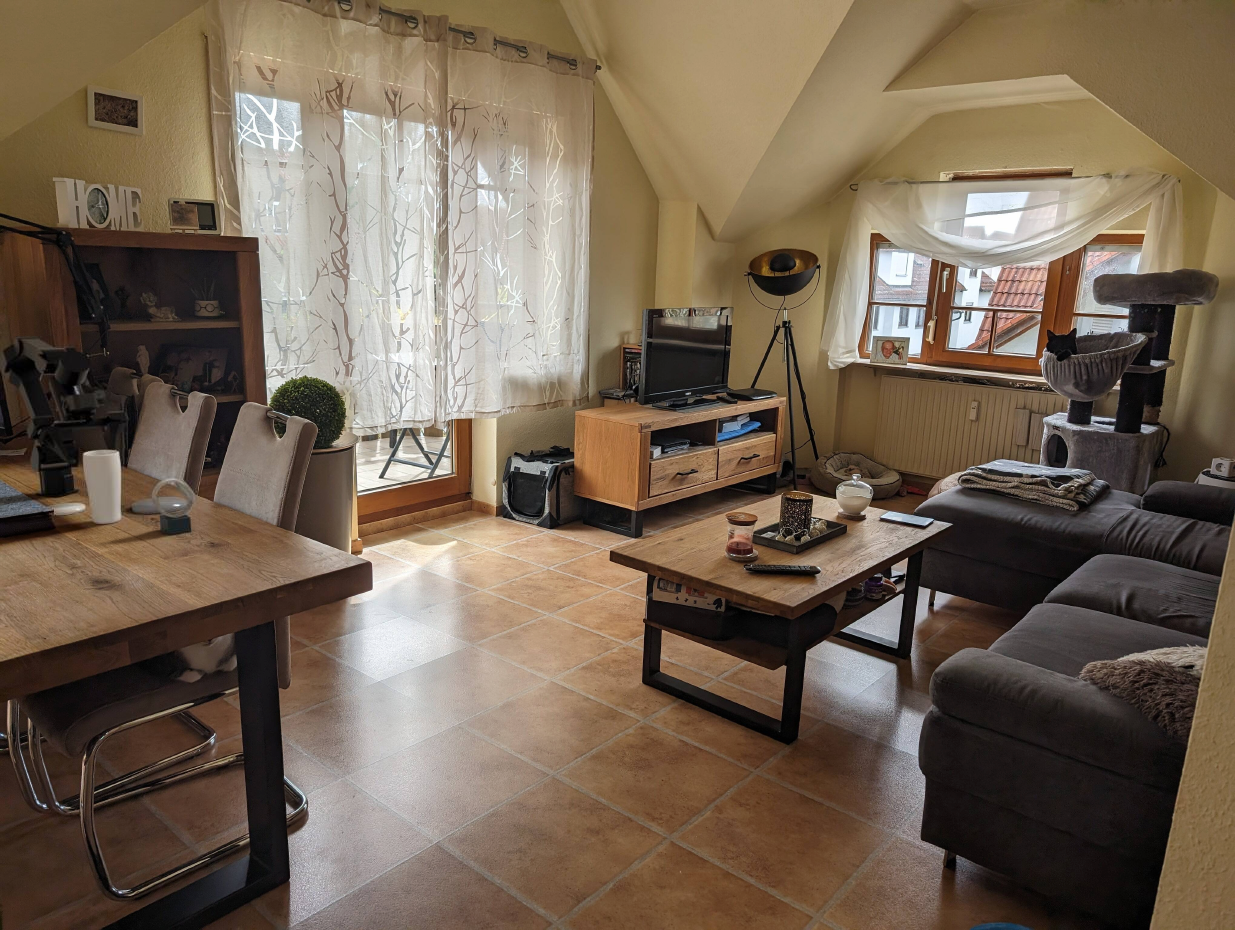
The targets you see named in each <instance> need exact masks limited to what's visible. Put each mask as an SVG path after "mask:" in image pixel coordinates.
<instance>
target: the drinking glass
mask: <svg viewBox="0 0 1235 930" xmlns="http://www.w3.org/2000/svg"><path fill="white" fill-rule="evenodd" d="M121 465H122V464H121V458H120V451H118V450H117V449H115V450H108V449H98V450H91V451H86V452H83V453H82V467H83V476H84V480H85V486H86V490H87V494H88V500H89V504H90V511H91V518H92V522H93V523H95V524H97V525H98V524H99V525H106V524H107V525H109V524H116V523H117V522H119V521H121V519H122V510H121V509H122V507H121V506H122V504H121V503H122V501H121V500H122V498H121V497H122V468H121V467H122V466H121Z"/></svg>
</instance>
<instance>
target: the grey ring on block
mask: <svg viewBox="0 0 1235 930" xmlns="http://www.w3.org/2000/svg"><path fill="white" fill-rule="evenodd" d="M169 483H174V485H175V486H176V487H175V488H176V489H177V490H178V491H179V492H180V494H182V495H183V496H184V498H185V499H186V501H188V503H187V506H186V508H184V509H182V510H180V511H179V512H178V511H176V512H169V513H167V512H166V510H164V509H163V508H162V506H161V505H160V503H159V501H158V498H157V497H158V496H157V494H158V492H159V490H160V489H161V487H163V486H165V485H166V484H169ZM151 498H152V502H153V504H154V505H155V507H156V508H157V509H158V511H159V512H160V513H161V514H159V524H160V525H159V526H160V527H159V528H160V530H161V531H162V532H163V533H164V534H166V535H167V536H174V535H179V534H187V533H192V520H191V516H189V515H187V514H188V513H190V512H191V510H192V509H193V508H194V505H195V503H196V500H195V499H196V494H195V493H194V491H193V489H192V488H191V486H189V485H188V484H187V483H186V481H185V480H183V479H182V478H179V479H177V478H175V477H171V478H170V477H168V478H164V479H162V480H161V481H159V482H158V483H156V485H155V486H154V488H153V489H152V492H151Z"/></svg>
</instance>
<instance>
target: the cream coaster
mask: <svg viewBox="0 0 1235 930" xmlns="http://www.w3.org/2000/svg"><path fill="white" fill-rule="evenodd" d="M46 507H50V508H52V509H54V515H53V516H55V515H56V516H67V515H75V514H78V513H82V512H84V511H86V508H87V507H86V504H84V503H80V502H63V503H56V504H50V505H47V506H46Z"/></svg>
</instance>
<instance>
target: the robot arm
mask: <svg viewBox="0 0 1235 930" xmlns="http://www.w3.org/2000/svg"><path fill="white" fill-rule="evenodd" d="M91 365H92V362H91V359H90V358H89V357H88V355H86V354H84V353H82V352H80V351H78V350H77V349H76V347H75V346H73V347H72V346H71V347H68V346H67V347H54V346H52V345H50V344H49V343H47V342H45V341H43V340H42V338H41V337H38V336H18V337H16V338H15V339H13V342H12V344H10V345H9V346H7V347H6V348H5V349H3V350H2V351H1V355H0V372H1V373H2V374H4V376H5V378H6V380H7V382H8V383H9V384H11V385H13V386H14V387H16V388H17V389H19V391H20V392H19V393H20V394H21V396H22V399H23V402H24V404H25V407H26V409H27V412H28V414H29V415H28V416H29V417H30V421H29V423H28V425H27V428H26V434H27V436H28V440H30V441H34V445H33V448H32V452H31V456H30V459H29V462H30V467H31V470H33V471H35V472H37V473H38V474H39V483H40V491H37V492H35V495H36V496H45V497H52V498H53V497H54V498H55V497H56V498H59V497H63V496H67V495H70V494H74V493H77V492H80V489H79V488H75V482H74V481H75V480H74V475H73V471H72V468H79V463H80V459H79V458H80V449H81V448H80V447H79V446H78V443H77V442H76V441H75V439H74V438H73V436H72V434H71V431H70V430H80V429H81V430H82V429H92V428H93V429H94V428H100V429H101V430H102V432H103V435H102V437H103V440H104V442H105V443H104V444H105V446H106V448H107V450H116V446H117V445H116V443H117V436H118V435H119V434H120V433H122V432H123V431H124V430H125V428H126V426H127V425H128V423H129V420H130V419H129V416H128V414H127V413H126V412H125V411H123V410H115V411H106V412H105V413H104V416H103V417H100V418H99V417H98V418H93V417H92V416H95V415H96V409H99V408H100V406H102V407H103V406H105V405H106V404H107V395H106V393H105V392H104V389H101V390H94V391H92V392H91V393H84V391H83V388H82V384H83V383H84V382H85V380H86V378H87V375H88V373H89V370H90V368H91ZM46 375H47V376H48V375H52V376H51V377H50V378H49V380H48V386H49V392H51V393H52V394H51V395H52V396H53V398H54V403H55V411H56V414H57V413H58V414H59V417H60V419H61V420H57V419H56V416H55V414H54V411H53V408H52V407H51V404H50V401H49V399H48V395H46V392H45V389H44V387H43V384H42V382H41V380H42V376H46Z"/></svg>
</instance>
